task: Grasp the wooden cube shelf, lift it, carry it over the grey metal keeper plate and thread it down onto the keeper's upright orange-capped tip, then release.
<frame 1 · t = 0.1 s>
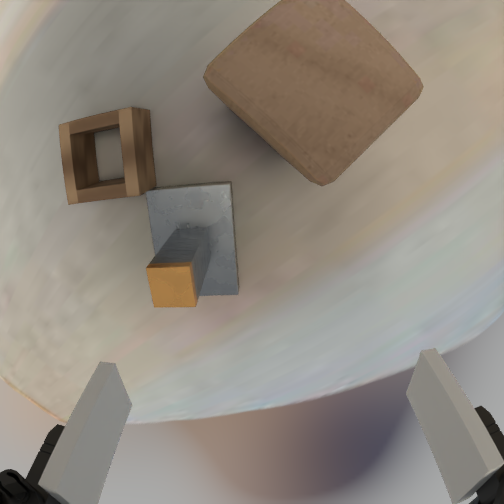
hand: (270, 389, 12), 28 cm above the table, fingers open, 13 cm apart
block: (286, 104, 33), on the table
wooden cube shelf: (117, 153, 35), on the table
keeper: (195, 239, 39), on the table
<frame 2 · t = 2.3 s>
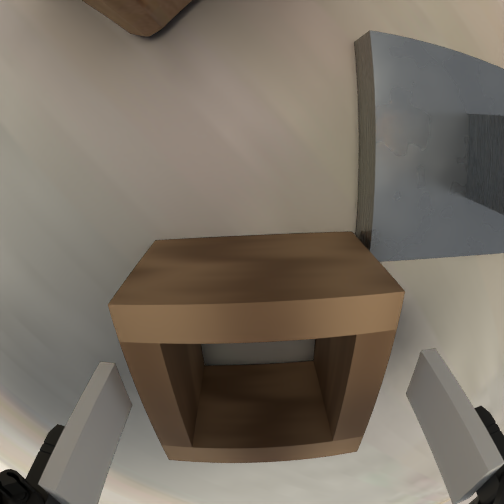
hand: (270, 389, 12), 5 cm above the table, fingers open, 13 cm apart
wooden cube shelf: (257, 320, 16), on the table
keeper: (472, 154, 13), on the table
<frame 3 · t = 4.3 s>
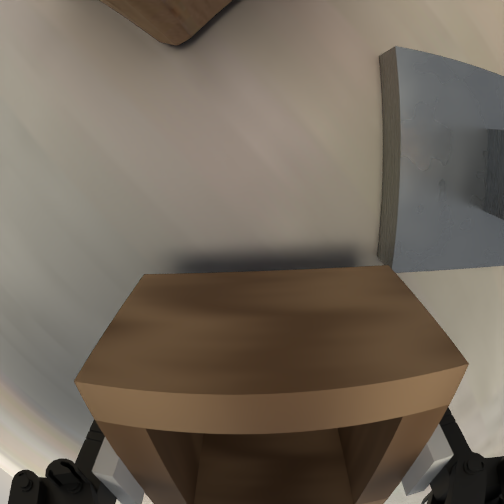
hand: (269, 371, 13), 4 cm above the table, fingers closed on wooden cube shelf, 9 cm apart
wooden cube shelf: (269, 367, 13), point 4 cm above the table, touching gripper
keeper: (489, 167, 13), on the table
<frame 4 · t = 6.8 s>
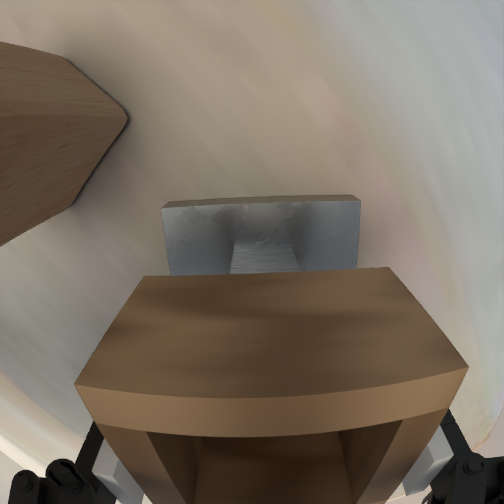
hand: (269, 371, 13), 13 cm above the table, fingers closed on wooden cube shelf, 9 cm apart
block: (63, 131, 21), on the table
wooden cube shelf: (269, 368, 13), point 12 cm above the table, touching gripper
keeper: (262, 259, 25), on the table
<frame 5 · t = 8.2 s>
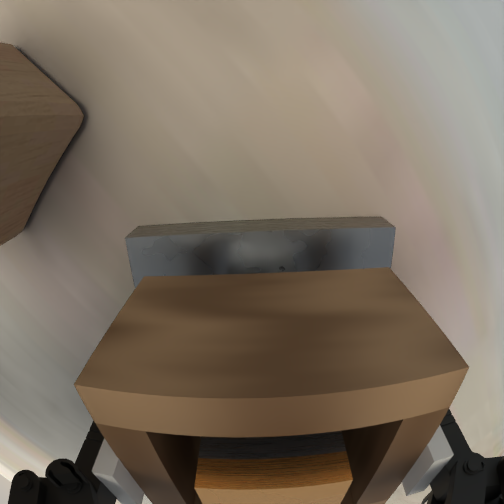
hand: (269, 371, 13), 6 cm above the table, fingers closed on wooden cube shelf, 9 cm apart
block: (13, 136, 15), on the table
wooden cube shelf: (269, 368, 13), point 6 cm above the table, touching gripper
keeper: (263, 300, 19), on the table
when the fingers open (4 cm above the table, at t = 9.4 s): wooden cube shelf drops 1 cm, resting on keeper.
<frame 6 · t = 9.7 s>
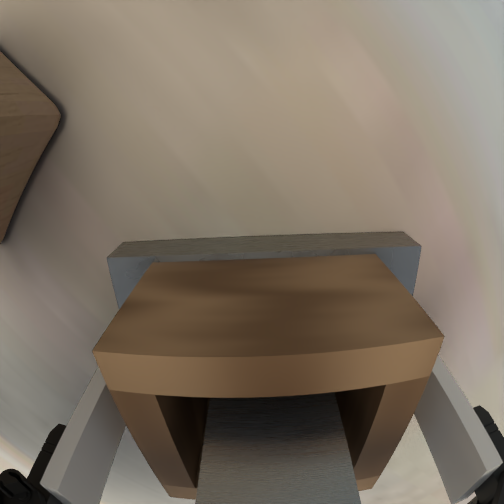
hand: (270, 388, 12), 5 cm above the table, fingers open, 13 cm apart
wooden cube shelf: (267, 349, 14), point 2 cm above the table, touching keeper
keeper: (267, 325, 16), on the table
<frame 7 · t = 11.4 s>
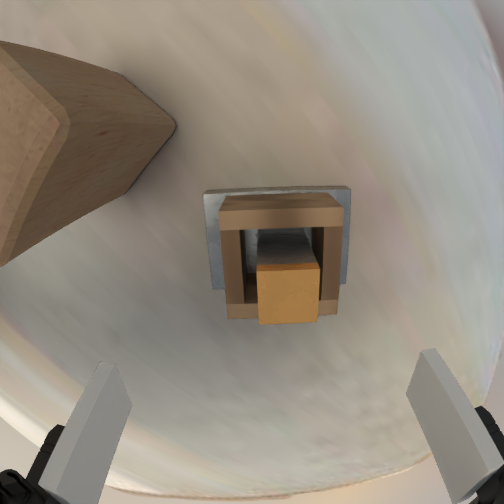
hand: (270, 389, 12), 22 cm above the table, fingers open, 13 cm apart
block: (119, 133, 29), on the table
wooden cube shelf: (278, 241, 30), point 2 cm above the table, touching keeper
keeper: (278, 234, 32), on the table
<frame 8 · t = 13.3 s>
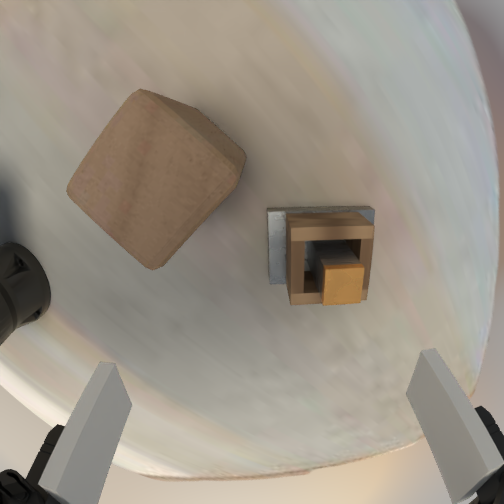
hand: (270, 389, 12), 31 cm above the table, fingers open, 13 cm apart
block: (194, 158, 38), on the table
wooden cube shelf: (322, 247, 40), point 2 cm above the table, touching keeper
keeper: (319, 242, 42), on the table
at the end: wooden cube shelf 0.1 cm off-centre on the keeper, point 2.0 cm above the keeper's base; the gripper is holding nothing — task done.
